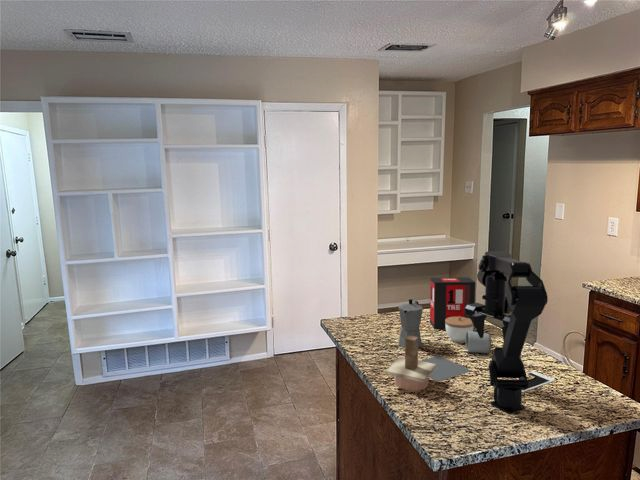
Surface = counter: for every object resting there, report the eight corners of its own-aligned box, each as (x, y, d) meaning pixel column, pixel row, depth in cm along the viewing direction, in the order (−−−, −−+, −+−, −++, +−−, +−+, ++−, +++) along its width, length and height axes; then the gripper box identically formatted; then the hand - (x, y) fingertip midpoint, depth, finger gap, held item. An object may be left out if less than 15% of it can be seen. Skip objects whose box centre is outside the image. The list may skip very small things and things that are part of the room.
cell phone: (555, 381, 139) (555, 379, 139) (521, 394, 132) (521, 392, 132) (533, 372, 146) (533, 370, 146) (499, 383, 138) (499, 382, 138)
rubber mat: (471, 372, 146) (471, 370, 146) (437, 383, 139) (437, 381, 139) (439, 356, 159) (439, 355, 159) (406, 365, 152) (406, 364, 152)
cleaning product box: (467, 322, 196) (469, 277, 193) (473, 328, 187) (475, 282, 185) (429, 322, 197) (430, 277, 194) (434, 329, 188) (435, 282, 185)
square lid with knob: (436, 367, 140) (436, 334, 138) (424, 382, 130) (425, 347, 128) (399, 359, 146) (399, 328, 144) (385, 374, 136) (385, 340, 134)
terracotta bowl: (434, 386, 136) (435, 372, 136) (409, 395, 132) (409, 380, 131) (413, 374, 145) (413, 361, 144) (388, 381, 140) (388, 368, 140)
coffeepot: (416, 353, 162) (417, 305, 160) (392, 348, 167) (392, 302, 165) (429, 339, 176) (429, 295, 173) (405, 336, 180) (406, 292, 178)
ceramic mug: (491, 356, 158) (492, 335, 157) (467, 355, 160) (468, 334, 159) (486, 346, 169) (486, 326, 168) (463, 345, 170) (463, 325, 169)
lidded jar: (475, 345, 169) (476, 321, 168) (446, 344, 171) (446, 320, 170) (470, 335, 180) (471, 312, 178) (443, 334, 181) (443, 312, 180)
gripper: (540, 295, 130) (538, 347, 132) (488, 283, 146) (487, 329, 149) (515, 301, 125) (513, 354, 127) (464, 287, 141) (463, 335, 143)
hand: (493, 342), depth 137 cm, fingers open, 9 cm apart
